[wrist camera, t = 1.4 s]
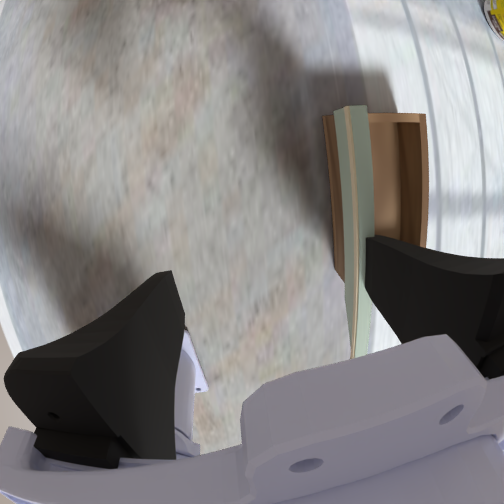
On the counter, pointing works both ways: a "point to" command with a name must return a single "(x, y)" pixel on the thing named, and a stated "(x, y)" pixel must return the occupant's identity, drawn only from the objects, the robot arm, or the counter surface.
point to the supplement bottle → (495, 16)
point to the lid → (356, 217)
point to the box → (387, 179)
